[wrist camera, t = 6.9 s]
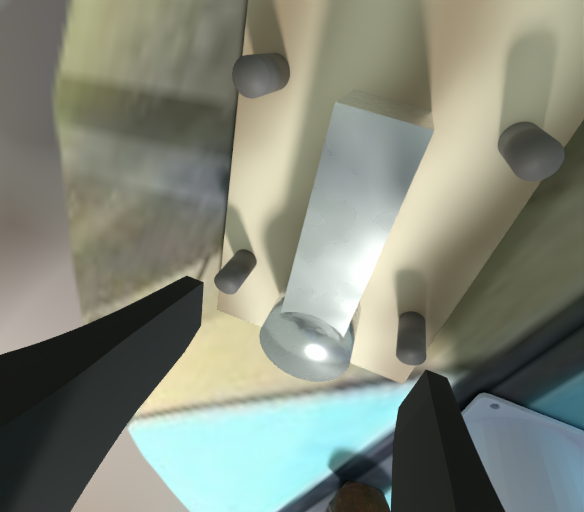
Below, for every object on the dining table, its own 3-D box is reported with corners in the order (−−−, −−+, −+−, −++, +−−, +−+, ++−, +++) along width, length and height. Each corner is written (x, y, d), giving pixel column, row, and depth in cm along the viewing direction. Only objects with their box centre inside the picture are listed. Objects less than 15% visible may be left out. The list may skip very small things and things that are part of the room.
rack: (653, -12, 11) (743, -33, 8) (403, 369, 22) (401, 419, 19) (271, -91, 12) (223, -133, 9) (225, 298, 24) (197, 335, 21)
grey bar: (452, 116, 13) (461, 137, 10) (346, 346, 21) (335, 393, 18) (334, 84, 14) (311, 94, 11) (275, 318, 22) (254, 359, 19)
